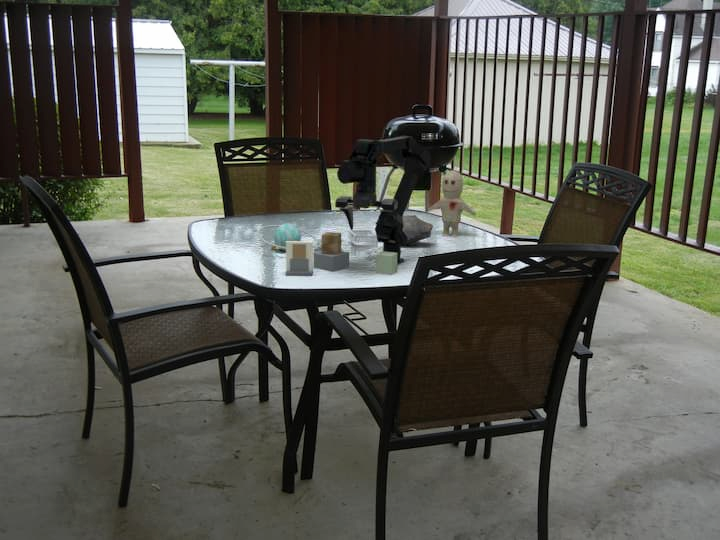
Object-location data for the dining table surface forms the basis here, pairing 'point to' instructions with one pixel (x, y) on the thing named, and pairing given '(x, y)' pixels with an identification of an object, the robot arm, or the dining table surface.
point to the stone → (416, 229)
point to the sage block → (386, 263)
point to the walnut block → (331, 243)
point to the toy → (452, 202)
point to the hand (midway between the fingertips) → (366, 230)
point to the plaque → (299, 258)
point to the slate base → (331, 261)
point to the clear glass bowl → (285, 235)
